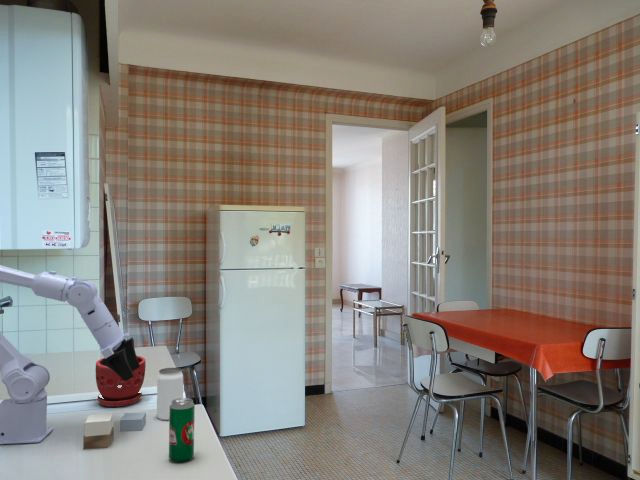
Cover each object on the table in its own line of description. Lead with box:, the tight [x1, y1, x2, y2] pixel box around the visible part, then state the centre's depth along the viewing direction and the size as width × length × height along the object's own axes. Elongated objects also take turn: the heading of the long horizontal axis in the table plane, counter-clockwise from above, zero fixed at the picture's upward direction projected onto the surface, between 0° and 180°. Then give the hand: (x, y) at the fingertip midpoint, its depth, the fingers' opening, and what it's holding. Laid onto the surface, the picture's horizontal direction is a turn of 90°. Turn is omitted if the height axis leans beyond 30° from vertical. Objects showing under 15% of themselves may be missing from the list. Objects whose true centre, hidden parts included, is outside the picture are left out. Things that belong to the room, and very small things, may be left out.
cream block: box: [84, 412, 114, 437], centre depth 109 cm, size 5×5×3 cm
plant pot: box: [95, 355, 146, 407], centre depth 138 cm, size 13×13×12 cm
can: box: [156, 367, 184, 421], centre depth 127 cm, size 6×6×12 cm
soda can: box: [168, 397, 196, 464], centre depth 103 cm, size 5×5×12 cm
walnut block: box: [82, 426, 115, 450], centre depth 109 cm, size 5×5×3 cm
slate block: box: [119, 411, 147, 433], centre depth 120 cm, size 5×5×3 cm
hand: (132, 373), depth 118 cm, fingers open, 7 cm apart
